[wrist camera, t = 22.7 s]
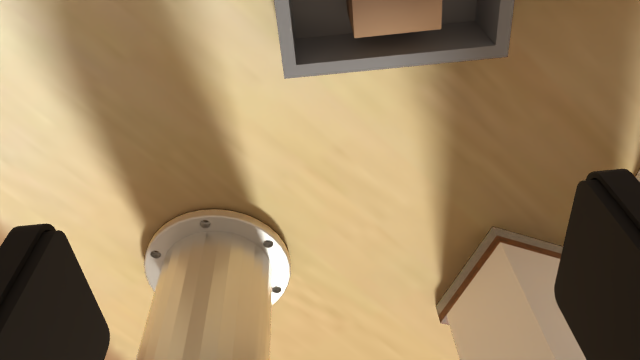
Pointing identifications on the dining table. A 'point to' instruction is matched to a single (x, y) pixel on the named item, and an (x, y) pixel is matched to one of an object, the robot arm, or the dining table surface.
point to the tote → (387, 38)
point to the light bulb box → (638, 176)
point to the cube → (393, 16)
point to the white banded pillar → (508, 302)
